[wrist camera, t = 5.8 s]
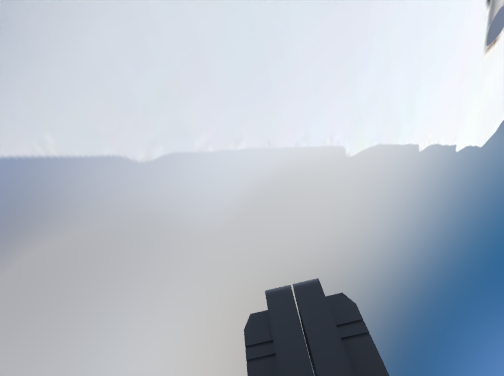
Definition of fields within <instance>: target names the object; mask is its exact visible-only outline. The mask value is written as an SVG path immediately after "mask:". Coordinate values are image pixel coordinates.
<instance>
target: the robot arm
mask: <svg viewBox="0 0 504 376" xmlns="http://www.w3.org/2000/svg"><path fill="white" fill-rule="evenodd" d="M293 288H294V292H295V297H296V302H297V306H298V310H299V315H300V319H301V323H300V319H299V316H298V312H297V308H296V304H295V300H294V296H293V292H292V289H291V285H288V286H284V287H279V288H275V289H271V290H266V291H265V294H266V299H267V306H268V310H266V311H262V312H257V313H253V314H250V316H249V319H248V322H247V324H246V326H245V329H244V335H245V347H246V360H247V372H248V376H314V375H315V376H389V374H388V372H387V370H386V368H385V366H384V363H383V361H382V359H381V357H380V355H379V353H378V350H377V348H376V346H375V344H374V342H373V340H372V338H371V335H370V334H369V331H368V329H367V327H366V325H365V323H364V321H363V318H362V316H361V314H360V312H359V310H358V307H357V305H356V304H355V303H354V302H353V301H352V300H351V299H349V298H348V297H347V296H346V295H344V294H343V293H339V294H335V295H331V296H326V297H325V295H324V292H323V289H322V286H321V284H320V281H319V279H313V280H309V281H305V282H300V283H297V284H293ZM301 324H302V327H301ZM302 328H303V331H302ZM303 332H304V335H303ZM304 336H305V339H304ZM305 340H306V342H305ZM306 344H307V346H306ZM307 348H308V350H307ZM308 352H309V354H308ZM309 356H310V358H309ZM310 360H311V362H310ZM311 364H312V365H311ZM312 367H313V369H312ZM313 371H314V373H313Z"/></svg>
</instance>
